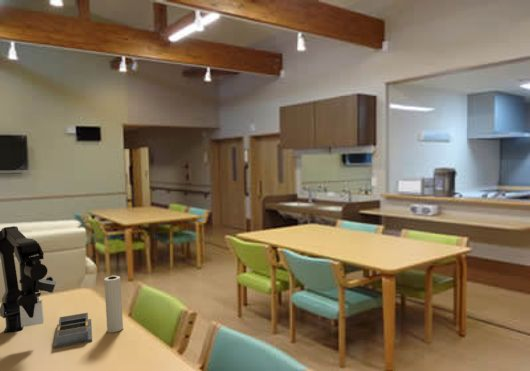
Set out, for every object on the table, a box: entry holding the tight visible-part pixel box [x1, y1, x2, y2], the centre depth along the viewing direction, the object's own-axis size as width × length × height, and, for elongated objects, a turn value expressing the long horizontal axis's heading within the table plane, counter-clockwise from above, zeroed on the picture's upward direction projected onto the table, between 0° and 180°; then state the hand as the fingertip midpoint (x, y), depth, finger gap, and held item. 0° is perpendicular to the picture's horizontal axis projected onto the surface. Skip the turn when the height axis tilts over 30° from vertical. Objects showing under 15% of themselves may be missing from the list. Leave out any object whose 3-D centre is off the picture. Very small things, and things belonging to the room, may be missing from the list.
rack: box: [52, 312, 93, 349], centre depth 160 cm, size 21×13×4 cm, turn 24°
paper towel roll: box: [103, 274, 124, 333], centre depth 163 cm, size 7×6×21 cm
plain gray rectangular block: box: [20, 299, 44, 328], centre depth 152 cm, size 3×7×8 cm, turn 114°
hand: (32, 315), depth 152 cm, fingers closed on plain gray rectangular block, 3 cm apart
